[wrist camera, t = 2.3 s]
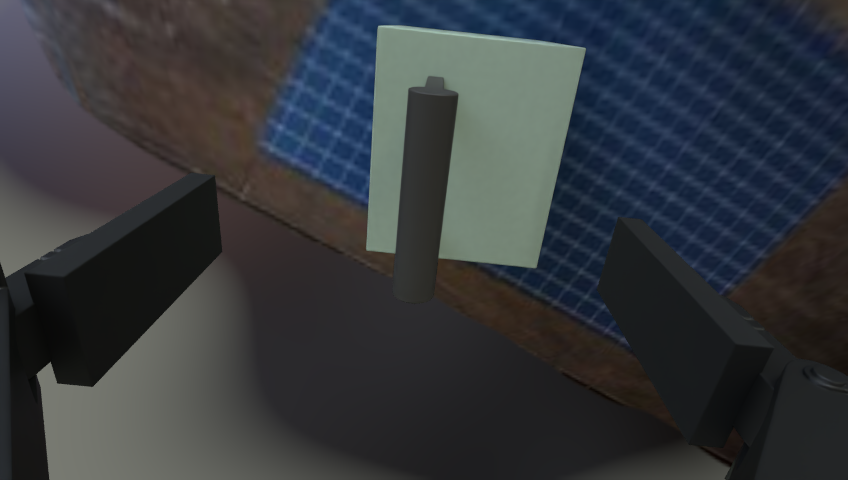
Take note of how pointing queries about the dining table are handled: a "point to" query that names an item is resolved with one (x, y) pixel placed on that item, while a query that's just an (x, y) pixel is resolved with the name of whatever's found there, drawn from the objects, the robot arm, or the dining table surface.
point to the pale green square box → (464, 148)
